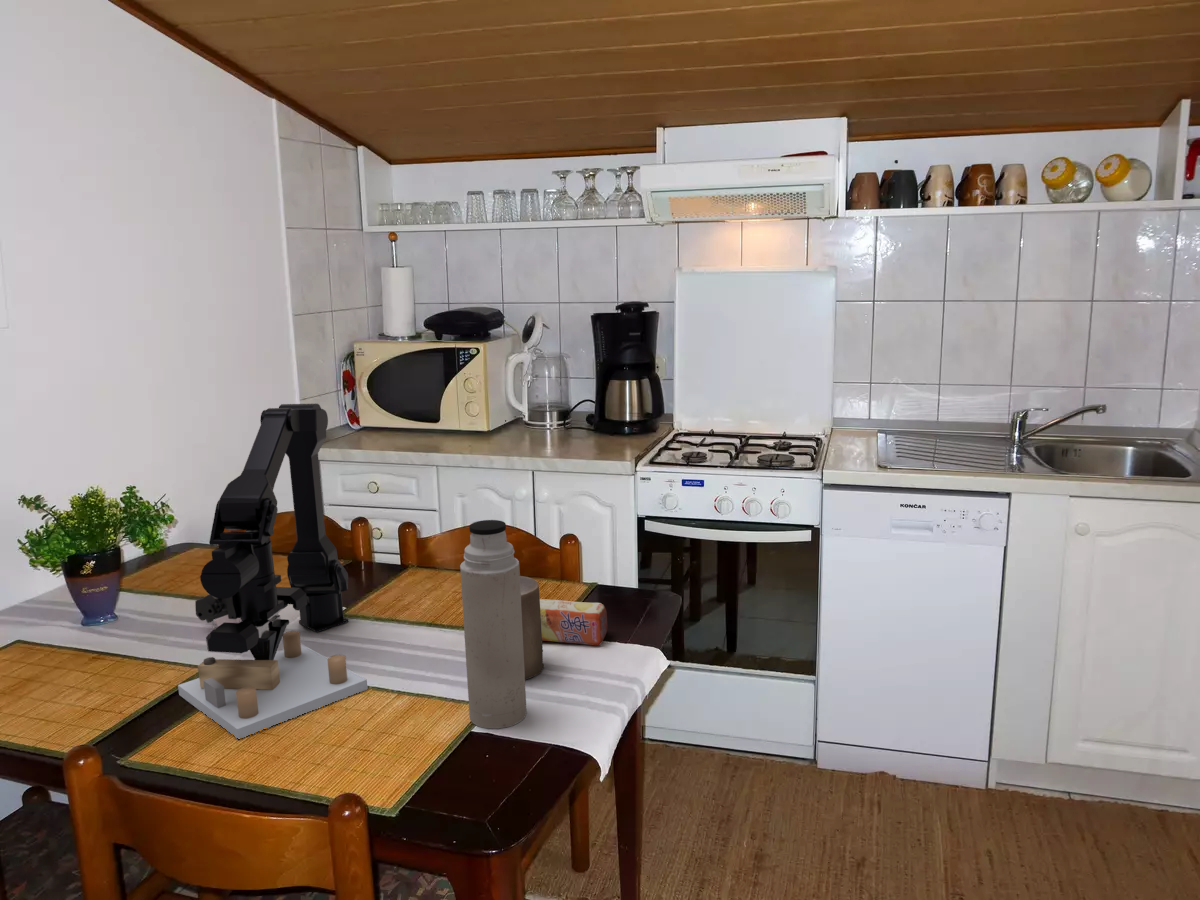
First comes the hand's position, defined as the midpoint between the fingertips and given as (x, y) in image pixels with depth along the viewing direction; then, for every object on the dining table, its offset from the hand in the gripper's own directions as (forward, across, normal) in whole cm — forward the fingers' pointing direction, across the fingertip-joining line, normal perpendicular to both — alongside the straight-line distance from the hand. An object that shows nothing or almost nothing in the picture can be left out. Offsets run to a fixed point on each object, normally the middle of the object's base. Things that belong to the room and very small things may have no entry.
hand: (265, 671), depth 142 cm
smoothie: (+3, -22, -20) cm, 30 cm away
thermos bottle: (+3, +4, +38) cm, 38 cm away
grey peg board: (+3, +2, +2) cm, 3 cm away
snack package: (+4, -24, +37) cm, 44 cm away
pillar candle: (+3, -11, +36) cm, 37 cm away
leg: (+1, +3, -2) cm, 4 cm away
